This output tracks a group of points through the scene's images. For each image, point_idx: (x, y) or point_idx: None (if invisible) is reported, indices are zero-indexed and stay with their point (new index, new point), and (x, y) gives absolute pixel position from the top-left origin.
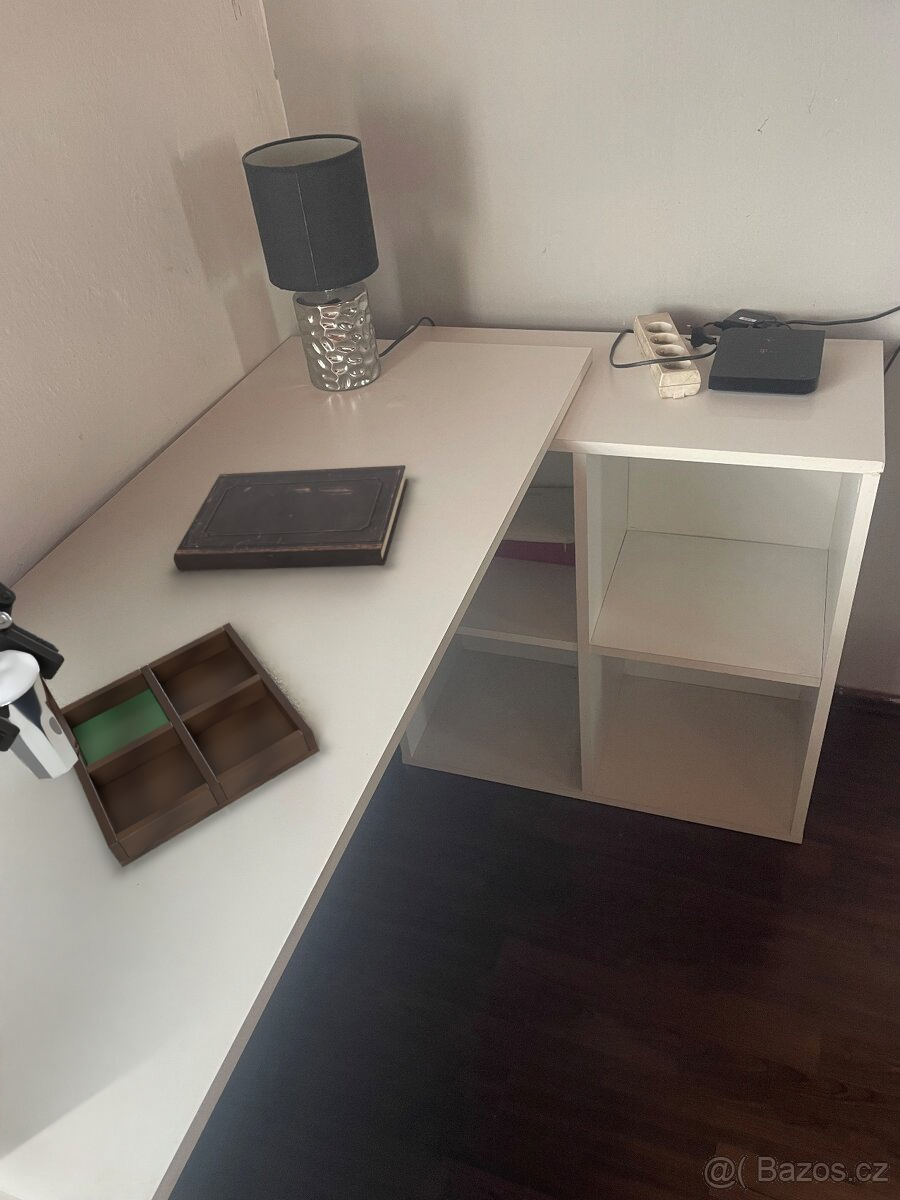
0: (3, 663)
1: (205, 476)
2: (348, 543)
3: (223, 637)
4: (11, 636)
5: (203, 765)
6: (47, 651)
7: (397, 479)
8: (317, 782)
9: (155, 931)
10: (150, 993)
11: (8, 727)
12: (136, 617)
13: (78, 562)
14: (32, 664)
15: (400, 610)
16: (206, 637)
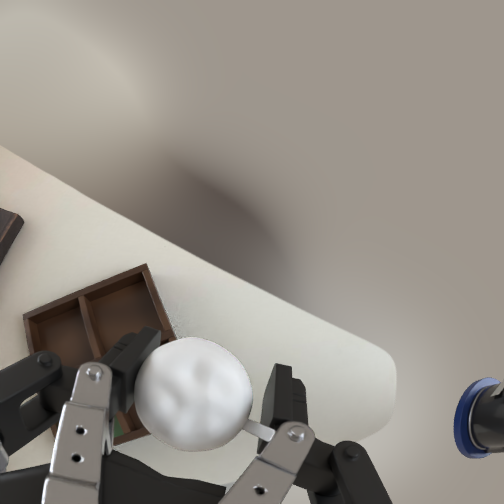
0: (182, 376)
1: None
2: (2, 232)
3: (31, 323)
4: (125, 365)
5: None
6: (143, 335)
7: None
8: (176, 277)
9: (267, 381)
10: (308, 377)
11: (284, 369)
12: None
13: None
14: (185, 338)
15: (61, 217)
16: (28, 332)
